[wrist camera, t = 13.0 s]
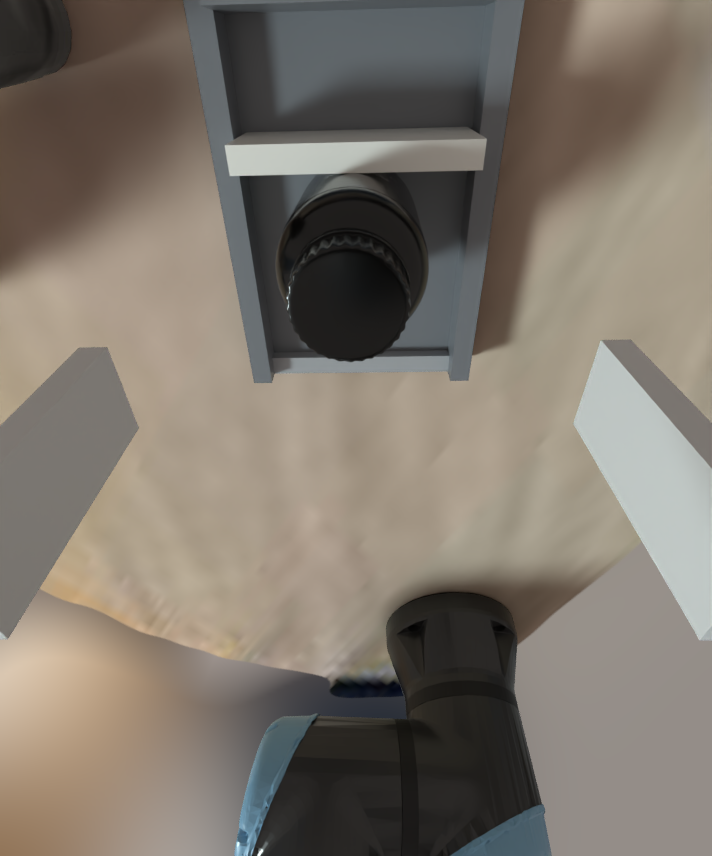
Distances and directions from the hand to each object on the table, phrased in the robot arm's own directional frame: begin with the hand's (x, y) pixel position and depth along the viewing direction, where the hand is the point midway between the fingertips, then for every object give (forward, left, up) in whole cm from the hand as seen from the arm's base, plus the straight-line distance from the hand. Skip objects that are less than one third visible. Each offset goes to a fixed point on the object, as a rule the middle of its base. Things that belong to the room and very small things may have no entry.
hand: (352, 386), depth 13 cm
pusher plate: (+4, 0, -17) cm, 18 cm away
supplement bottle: (0, 0, -18) cm, 18 cm away
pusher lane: (0, 0, -19) cm, 19 cm away
